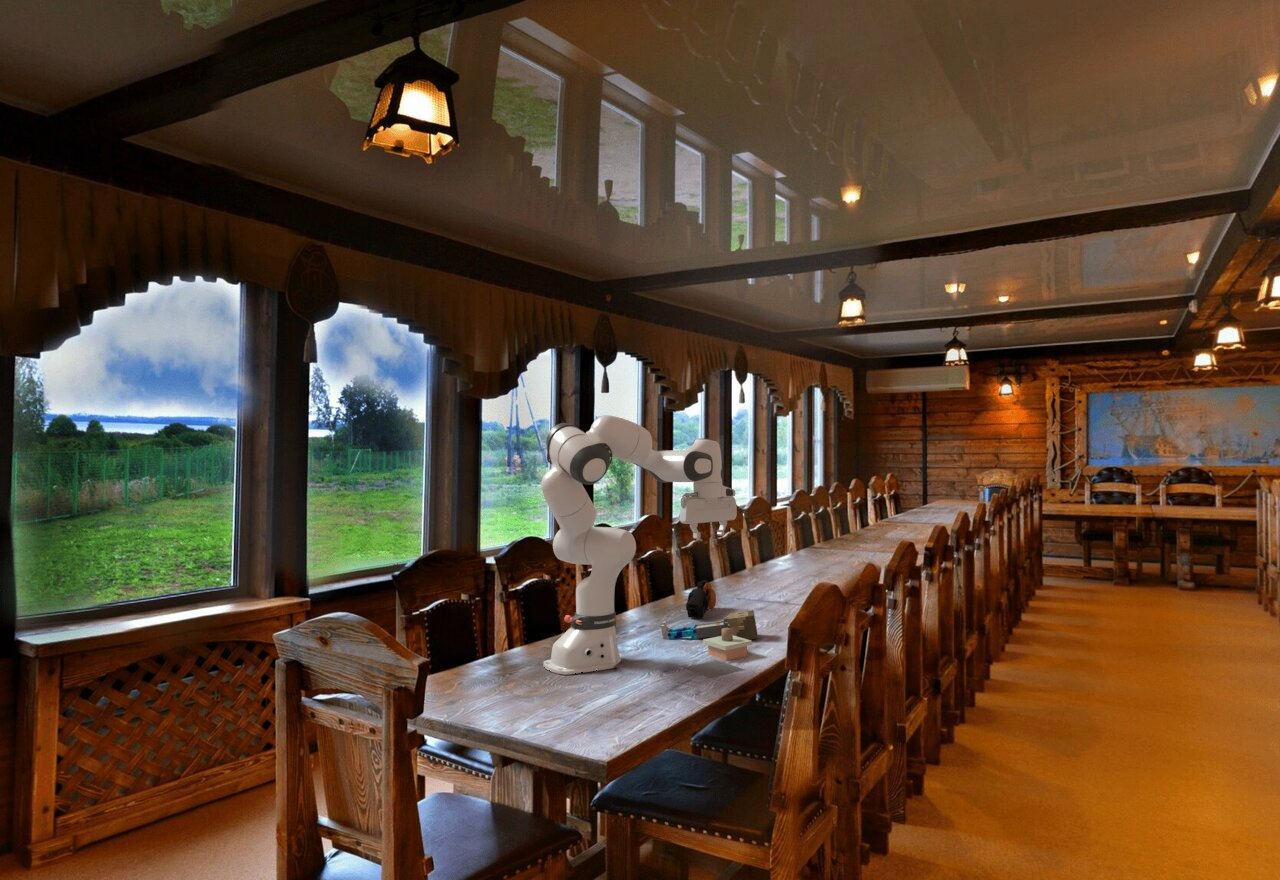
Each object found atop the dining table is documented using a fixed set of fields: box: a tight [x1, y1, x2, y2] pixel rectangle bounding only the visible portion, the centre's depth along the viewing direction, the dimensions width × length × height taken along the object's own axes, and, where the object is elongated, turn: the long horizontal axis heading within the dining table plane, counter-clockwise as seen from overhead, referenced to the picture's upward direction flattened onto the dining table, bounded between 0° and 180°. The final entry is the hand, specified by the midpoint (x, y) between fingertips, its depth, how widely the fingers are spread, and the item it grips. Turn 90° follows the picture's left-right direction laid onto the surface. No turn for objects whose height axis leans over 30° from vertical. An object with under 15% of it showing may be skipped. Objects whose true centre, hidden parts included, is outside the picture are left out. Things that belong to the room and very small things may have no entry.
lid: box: [702, 628, 753, 650], centre depth 223 cm, size 10×10×4 cm
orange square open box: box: [707, 645, 748, 661], centre depth 223 cm, size 8×8×4 cm
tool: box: [685, 579, 717, 619], centre depth 283 cm, size 8×23×15 cm, turn 160°
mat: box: [683, 659, 746, 679], centre depth 210 cm, size 12×12×1 cm
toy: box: [660, 609, 759, 640], centre depth 248 cm, size 26×8×30 cm
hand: (708, 536), depth 234 cm, fingers open, 8 cm apart
